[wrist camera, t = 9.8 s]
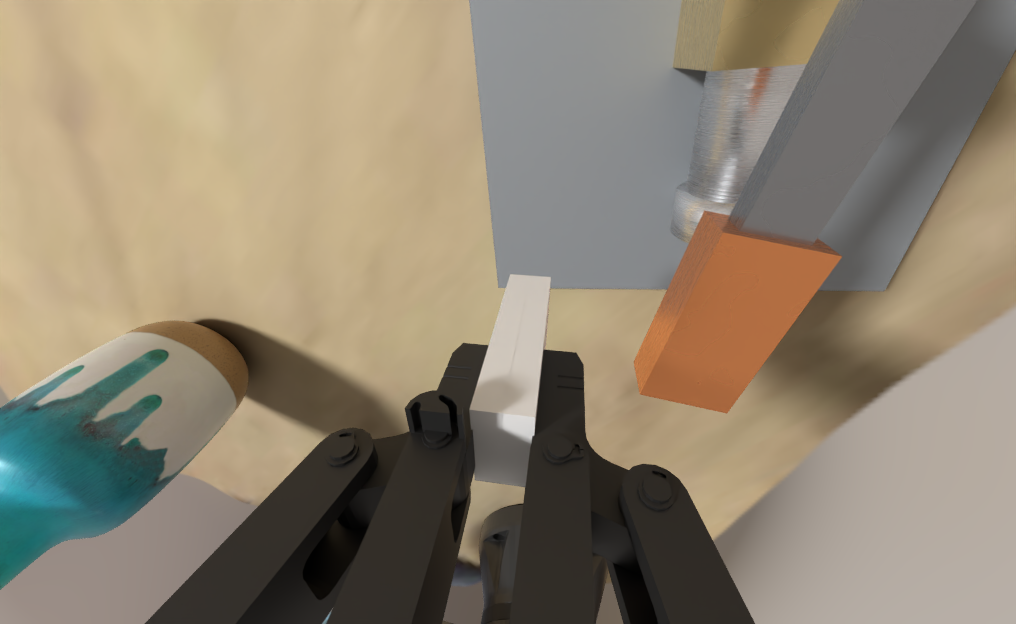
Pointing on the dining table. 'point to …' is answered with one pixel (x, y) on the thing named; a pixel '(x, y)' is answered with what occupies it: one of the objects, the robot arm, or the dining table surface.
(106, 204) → the dining table surface
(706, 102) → the valve pipe
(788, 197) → the valve lever
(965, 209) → the dining table surface
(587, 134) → the valve board
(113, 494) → the vase
